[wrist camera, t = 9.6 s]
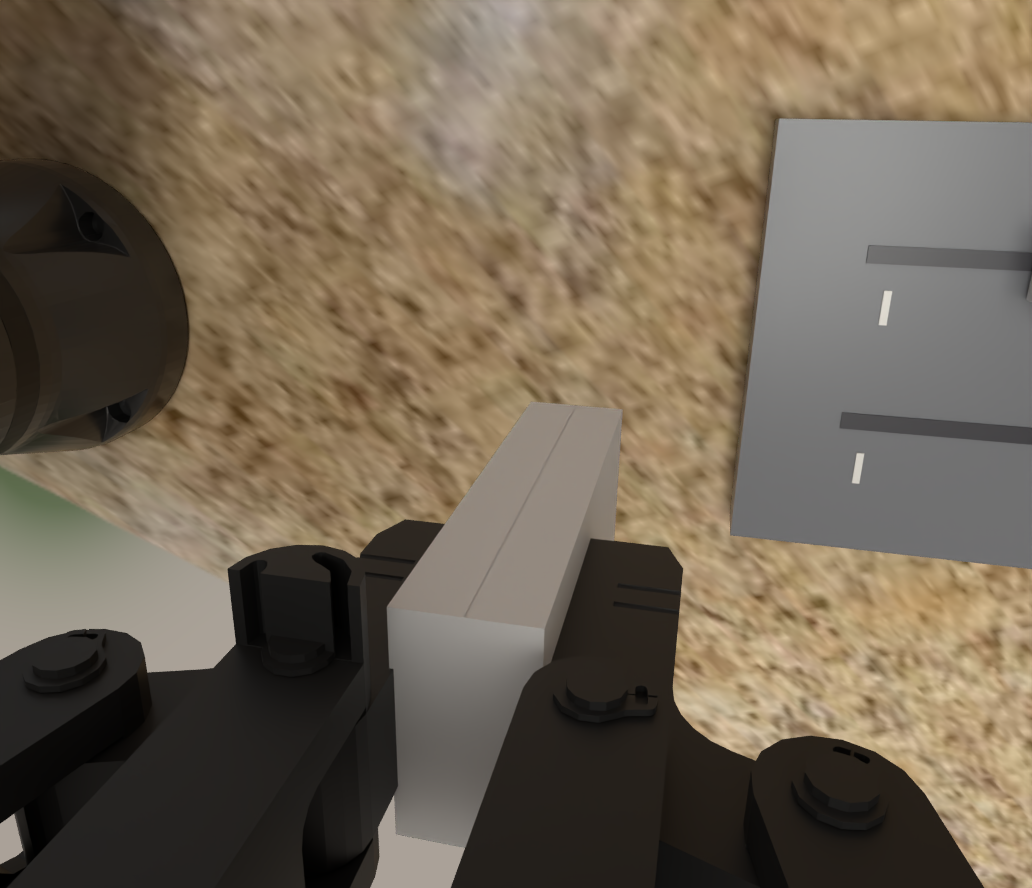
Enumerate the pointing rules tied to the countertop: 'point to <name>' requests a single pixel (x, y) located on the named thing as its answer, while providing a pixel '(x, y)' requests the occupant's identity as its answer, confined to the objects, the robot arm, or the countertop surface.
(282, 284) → the countertop surface
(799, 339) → the console
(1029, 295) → the fader grey
